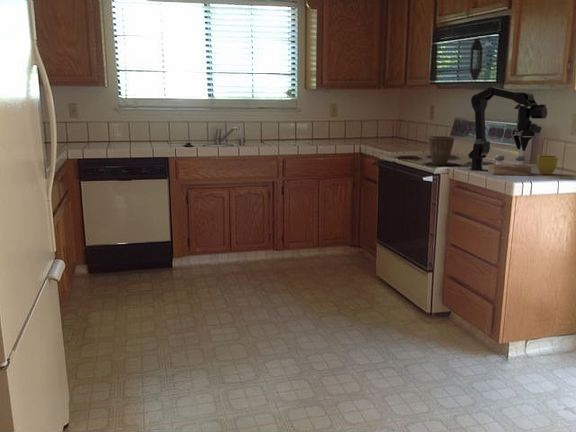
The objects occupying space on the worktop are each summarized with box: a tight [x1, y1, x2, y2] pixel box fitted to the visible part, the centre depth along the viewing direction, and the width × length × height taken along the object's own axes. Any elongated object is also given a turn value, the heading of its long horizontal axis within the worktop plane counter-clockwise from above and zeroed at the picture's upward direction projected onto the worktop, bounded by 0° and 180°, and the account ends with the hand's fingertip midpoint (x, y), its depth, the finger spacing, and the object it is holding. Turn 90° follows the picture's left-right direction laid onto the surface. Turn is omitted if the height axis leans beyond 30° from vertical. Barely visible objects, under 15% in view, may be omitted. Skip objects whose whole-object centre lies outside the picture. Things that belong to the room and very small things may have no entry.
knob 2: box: [515, 155, 526, 166], centre depth 275 cm, size 4×4×6 cm
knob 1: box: [494, 154, 506, 166], centre depth 276 cm, size 4×4×6 cm
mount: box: [487, 164, 532, 176], centre depth 276 cm, size 10×18×4 cm, turn 84°
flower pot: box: [537, 154, 558, 176], centre depth 274 cm, size 9×9×9 cm
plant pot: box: [427, 135, 455, 166], centre depth 319 cm, size 15×15×16 cm
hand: (521, 150), depth 273 cm, fingers open, 8 cm apart
